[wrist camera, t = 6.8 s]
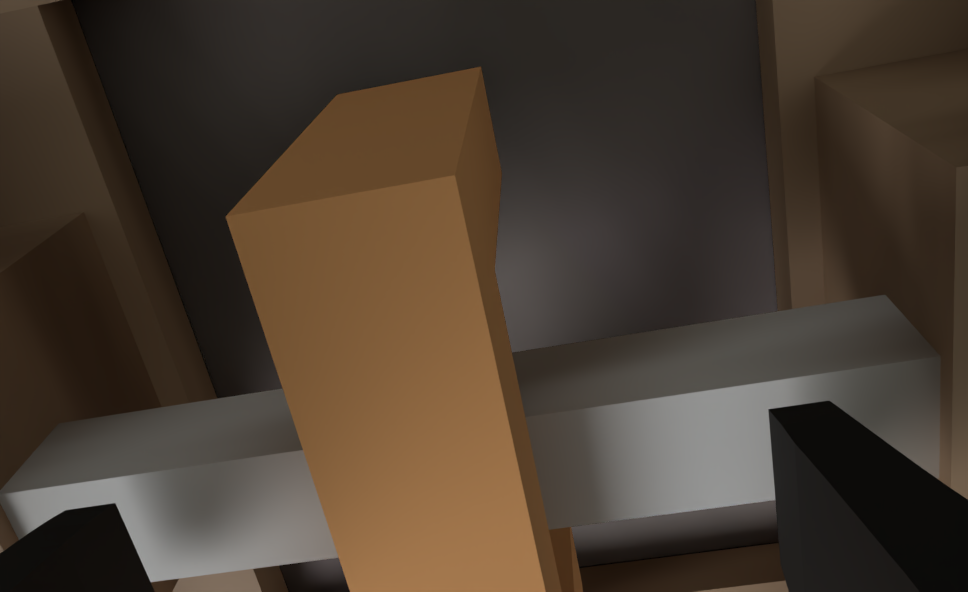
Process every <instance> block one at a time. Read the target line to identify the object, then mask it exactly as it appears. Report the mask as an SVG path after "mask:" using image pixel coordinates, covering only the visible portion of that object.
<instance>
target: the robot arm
mask: <svg viewBox="0 0 968 592" xmlns="http://www.w3.org/2000/svg"><path fill="white" fill-rule="evenodd" d="M768 412H769V424H770V437H771V449H772V462H773V475H774V487H775V500H776V512H777V525H778V538H779V550H780V563H781V567H782V571H783V574H784V577H785V581H786V584H787V587H788V590H789V592H968V499H966V498H965V497H963V496H962V495H960V494H959V493H957V492H956V491H954V490H953V489H951V488H950V487H948V486H947V485H945V484H944V483H943V482H941V481H940V480H938V479H937V478H935V477H934V476H933V475H931V474H930V473H928V472H927V471H926V470H924V469H923V468H921V467H920V466H919V465H917V464H916V463H914V462H913V461H912V460H910V459H909V458H907V457H906V456H905V455H903V454H902V453H901V452H899V451H898V450H896V449H895V448H894V447H892V446H891V445H890V444H888V443H887V442H885V441H884V440H883V439H881V438H880V437H879V436H877V435H876V434H875V433H873V432H872V431H871V430H869V429H868V428H866V427H865V426H864V425H862V424H861V423H860V422H858V421H857V420H855V419H854V418H853V417H851V416H850V415H849V414H847V413H846V412H845V411H843V410H842V409H840V408H839V407H838V406H836V405H835V404H833V403H832V402H831V401H822V402H815V403H808V404H801V405H794V406H787V407H780V408H773V409H768ZM0 592H155V591H154V589H153V586H152V584H151V582H150V580H149V577H148V575H147V573H146V571H145V568H144V566H143V564H142V562H141V559H140V557H139V555H138V553H137V550H136V548H135V546H134V544H133V541H132V539H131V537H130V535H129V532H128V530H127V528H126V526H125V524H124V521H123V519H122V517H121V515H120V512H119V510H118V508H117V506H116V503H112V504H105V505H98V506H91V507H84V508H77V509H70V510H65V511H63V512H61V513H60V514H58V515H57V516H55V517H53V518H52V519H50V520H48V521H47V522H45V523H43V524H42V525H40V526H39V527H37V528H36V529H34V530H33V531H31V532H30V533H28V534H27V535H26V536H24V537H23V538H21V539H20V540H18V541H17V542H15V543H14V544H13V545H11V546H10V547H8V548H7V549H6V550H4V551H3V552H1V553H0Z"/></svg>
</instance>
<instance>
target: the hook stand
mask: <svg viewBox="0 0 968 592" xmlns="http://www.w3.org/2000/svg"><path fill="white" fill-rule="evenodd" d="M756 12H757V26H758V40H759V54H760V68H761V82H762V96H763V111H764V125H765V139H766V153H767V167H768V181H769V195H770V209H771V223H772V238H773V252H774V266H775V280H776V294H777V308H778V311H777V312H770V313H764V314H757V315H751V316H745V317H738V318H732V319H725V320H719V321H713V322H706V323H700V324H693V325H687V326H680V327H674V328H668V329H661V330H655V331H648V332H642V333H635V334H629V335H623V336H616V337H610V338H603V339H597V340H591V341H584V342H578V343H571V344H565V345H558V346H552V347H546V348H539V349H533V350H526V351H520V352H514V353H512V356H513V360H514V365H515V370H516V375H517V380H518V384H519V389H520V394H521V399H522V404H523V408H524V413H525V418H526V423H527V428H528V432H529V437H530V442H531V447H532V452H533V456H534V461H535V466H536V471H537V476H538V480H539V485H540V490H541V495H542V500H543V504H544V509H545V514H546V519H547V524H548V528H549V530H551V529H559V528H566V527H574V526H582V525H589V524H597V523H604V522H612V521H619V520H627V519H635V518H642V517H650V516H657V515H665V514H673V513H680V512H688V511H695V510H703V509H710V508H718V507H726V506H733V505H741V504H748V503H756V502H764V501H771V500H775V487H774V475H773V462H772V449H771V437H770V424H769V412H768V409H773V408H780V407H787V406H794V405H801V404H808V403H815V402H822V401H831V402H832V403H833V404H835V405H836V406H838V407H839V408H840V409H842V410H843V411H845V412H846V413H847V414H849V415H850V416H851V417H853V418H854V419H855V420H857V421H858V422H860V423H861V424H862V425H864V426H865V427H866V428H868V429H869V430H871V431H872V432H873V433H875V434H876V435H877V436H879V437H880V438H881V439H883V440H884V441H885V442H887V443H888V444H890V445H891V446H892V447H894V448H895V449H896V450H898V451H899V452H901V453H902V454H903V455H905V456H906V457H907V458H909V459H910V460H912V461H913V462H914V463H916V464H917V465H919V466H920V467H921V468H923V469H924V470H926V471H927V472H928V473H930V474H931V475H933V476H934V477H935V478H937V479H938V480H940V481H941V482H943V483H944V484H945V485H947V486H948V487H950V488H951V489H953V490H954V491H956V492H957V493H959V494H960V495H962V496H963V497H965V498H966V499H968V0H756ZM112 503H116V506H117V508H118V510H119V512H120V515H121V517H122V519H123V521H124V524H125V526H126V528H127V530H128V532H129V535H130V537H131V539H132V541H133V544H134V546H135V548H136V550H137V553H138V555H139V557H140V559H141V562H142V564H143V566H144V568H145V571H146V573H147V575H148V577H149V580H150V582H151V584H152V586H153V589H154V591H155V592H288V589H287V586H286V584H285V581H284V578H283V575H282V573H281V570H280V567H279V565H286V564H293V563H301V562H308V561H316V560H324V559H331V558H339V557H338V554H337V551H336V548H335V545H334V542H333V539H332V536H331V533H330V530H329V527H328V524H327V521H326V518H325V515H324V512H323V509H322V506H321V503H320V500H319V497H318V494H317V491H316V488H315V485H314V482H313V479H312V476H311V473H310V470H309V467H308V464H307V461H306V458H305V455H304V452H303V449H302V446H301V443H300V440H299V437H298V434H297V431H296V427H295V424H294V421H293V418H292V415H291V412H290V409H289V406H288V403H287V400H286V397H285V394H284V391H283V388H282V389H276V390H270V391H263V392H257V393H250V394H244V395H238V396H231V397H225V398H218V399H217V396H216V393H215V390H214V388H213V385H212V382H211V380H210V377H209V374H208V371H207V369H206V366H205V363H204V361H203V358H202V355H201V352H200V350H199V347H198V344H197V342H196V339H195V336H194V333H193V331H192V328H191V325H190V322H189V320H188V317H187V314H186V312H185V309H184V306H183V303H182V301H181V298H180V295H179V293H178V290H177V287H176V284H175V282H174V279H173V276H172V274H171V271H170V268H169V265H168V263H167V260H166V257H165V254H164V252H163V249H162V246H161V244H160V241H159V238H158V235H157V233H156V230H155V227H154V225H153V222H152V219H151V216H150V214H149V211H148V208H147V206H146V203H145V200H144V197H143V195H142V192H141V189H140V187H139V184H138V181H137V178H136V176H135V173H134V170H133V167H132V165H131V162H130V159H129V157H128V154H127V151H126V148H125V146H124V143H123V140H122V138H121V135H120V132H119V129H118V127H117V124H116V121H115V119H114V116H113V113H112V110H111V108H110V105H109V102H108V99H107V97H106V94H105V91H104V89H103V86H102V83H101V80H100V78H99V75H98V72H97V70H96V67H95V64H94V61H93V59H92V56H91V53H90V51H89V48H88V45H87V42H86V40H85V37H84V34H83V31H82V29H81V26H80V23H79V21H78V18H77V15H76V12H75V10H74V7H73V4H72V2H71V0H0V553H1V552H3V551H4V550H6V549H7V548H8V547H10V546H11V545H13V544H14V543H15V542H17V541H18V540H20V539H21V538H23V537H24V536H26V535H27V534H28V533H30V532H31V531H33V530H34V529H36V528H37V527H39V526H40V525H42V524H43V523H45V522H47V521H48V520H50V519H52V518H53V517H55V516H57V515H58V514H60V513H61V512H63V511H65V510H70V509H77V508H84V507H91V506H98V505H105V504H112ZM579 570H580V575H581V580H582V587H583V592H789V590H788V587H787V584H786V581H785V577H784V574H783V571H782V567H781V563H780V550H779V543H774V544H767V545H759V546H751V547H743V548H735V549H727V550H719V551H711V552H703V553H695V554H687V555H679V556H672V557H664V558H656V559H648V560H640V561H632V562H624V563H616V564H608V565H600V566H592V567H584V568H579Z"/></svg>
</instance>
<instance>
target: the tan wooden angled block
mask: <svg viewBox="0 0 968 592" xmlns="http://www.w3.org/2000/svg"><path fill="white" fill-rule="evenodd" d="M501 179H502V171H501V166H500V161H499V156H498V151H497V146H496V141H495V136H494V131H493V125H492V120H491V115H490V110H489V105H488V100H487V95H486V90H485V85H484V79H483V74H482V69H481V67H476V68H471V69H466V70H461V71H456V72H450V73H445V74H440V75H435V76H430V77H425V78H420V79H414V80H409V81H404V82H399V83H394V84H389V85H384V86H378V87H373V88H368V89H363V90H358V91H353V92H348V93H342V94H337V95H336V96H335V97H334V98H333V99H332V101H331V102H330V103H329V104H328V105H327V106H326V107H325V108H324V109H323V110H322V111H321V113H320V114H319V115H318V116H317V117H316V118H315V119H314V120H313V121H312V122H311V124H310V125H309V126H308V127H307V128H306V129H305V130H304V131H303V132H302V133H301V134H300V136H299V137H298V138H297V139H296V140H295V141H294V142H293V143H292V144H291V145H290V146H289V148H288V149H287V150H286V151H285V152H284V153H283V154H282V155H281V156H280V157H279V159H278V160H277V161H276V162H275V163H274V164H273V165H272V166H271V167H270V168H269V169H268V171H267V172H266V173H265V174H264V175H263V176H262V177H261V178H260V179H259V180H258V181H257V183H256V184H255V185H254V186H253V187H252V188H251V189H250V190H249V191H248V192H247V194H246V195H245V196H244V197H243V198H242V199H241V200H240V201H239V202H238V203H237V204H236V206H235V207H234V208H233V209H232V210H231V211H230V212H229V213H228V214H227V215H226V220H227V223H228V226H229V229H230V232H231V235H232V238H233V241H234V244H235V247H236V250H237V253H238V256H239V259H240V262H241V265H242V268H243V271H244V274H245V277H246V280H247V283H248V286H249V289H250V292H251V295H252V298H253V301H254V304H255V307H256V310H257V313H258V316H259V319H260V322H261V325H262V328H263V331H264V334H265V337H266V340H267V343H268V346H269V349H270V352H271V355H272V358H273V361H274V364H275V367H276V370H277V373H278V376H279V379H280V382H281V385H282V388H283V391H284V394H285V397H286V400H287V403H288V406H289V409H290V412H291V415H292V418H293V421H294V424H295V427H296V431H297V434H298V437H299V440H300V443H301V446H302V449H303V452H304V455H305V458H306V461H307V464H308V467H309V470H310V473H311V476H312V479H313V482H314V485H315V488H316V491H317V494H318V497H319V500H320V503H321V506H322V509H323V512H324V515H325V518H326V521H327V524H328V527H329V530H330V533H331V536H332V539H333V542H334V545H335V548H336V551H337V554H338V557H339V560H340V563H341V566H342V569H343V572H344V575H345V578H346V581H347V584H348V587H349V590H350V592H583V587H582V580H581V575H580V570H579V565H578V560H577V555H576V550H575V545H574V539H573V534H572V529H571V527H566V528H559V529H551V530H549V528H548V524H547V519H546V514H545V509H544V504H543V500H542V495H541V490H540V485H539V480H538V476H537V471H536V466H535V461H534V456H533V452H532V447H531V442H530V437H529V432H528V428H527V423H526V418H525V413H524V408H523V404H522V399H521V394H520V389H519V384H518V380H517V375H516V370H515V365H514V360H513V356H512V351H511V346H510V341H509V336H508V332H507V327H506V322H505V317H504V312H503V308H502V303H501V298H500V293H499V289H498V284H497V279H496V274H495V258H496V245H497V232H498V219H499V205H500V192H501Z"/></svg>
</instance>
